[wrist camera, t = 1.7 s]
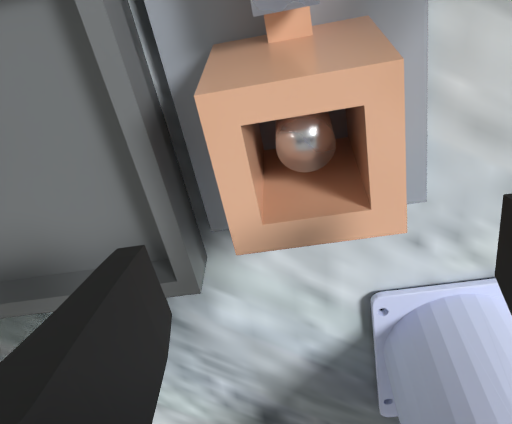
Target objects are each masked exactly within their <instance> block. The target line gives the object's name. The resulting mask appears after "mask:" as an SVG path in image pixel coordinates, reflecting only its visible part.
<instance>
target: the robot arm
mask: <svg viewBox="0 0 512 424" xmlns="http://www.w3.org/2000/svg"><path fill="white" fill-rule="evenodd" d="M495 277H496V278H493V279H485V280H476V281H468V282H460V283H451V284H443V285H434V286H426V287H418V288H409V289H401V290H392V291H384V292H378V293H376V294H374V295H373V296H372V297H371V314H372V326H373V339H374V352H375V365H376V378H377V390H378V403H379V411H380V414H381V415H382V416H384V417H399V421H400V424H512V194H505V195H503V204H502V213H501V222H500V231H499V241H498V250H497V259H496V268H495ZM382 308H385V309H384V310H379V309H382ZM171 319H172V313H171V310H170V308H169V305H168V303H167V300H166V298H165V295H164V293H163V290H162V288H161V285H160V282H159V280H158V277H157V275H156V272H155V270H154V267H153V265H152V262H151V260H150V257H149V255H148V252H147V249H146V247H145V245H139V246H131V247H124V248H117V249H116V250H115V251H114V252H113V253H112V254H111V255H109V256H108V257H107V258H106V259H105V260H104V261H103V262H102V263H101V264H100V265H99V266H98V267H97V268H96V269H95V270H94V271H93V272H92V273H91V275H90V276H89V277H88V278H87V279H86V280H85V281H84V282H83V283H82V284H81V285H80V286H79V287H78V288H77V289H76V290H75V291H74V292H73V293H72V294H71V295H70V296H69V297H68V298H67V299H66V300H65V301H64V302H63V303H62V304H61V305H60V306H59V307H58V308H57V309H56V310H55V311H54V312H53V313H52V314H51V315H50V316H49V317H48V318H47V319H46V320H45V321H44V322H43V323H42V324H41V325H40V326H39V327H38V328H37V329H36V330H35V331H34V332H33V333H31V334H30V335H29V336H28V337H27V338H26V339H25V340H24V341H23V342H22V343H21V344H20V345H19V346H18V347H17V348H16V349H14V350H13V351H12V352H11V353H10V354H9V355H8V356H7V357H6V358H5V359H4V360H3V361H1V362H0V424H152V421H153V417H154V413H155V409H156V405H157V401H158V396H159V392H160V388H161V384H162V380H163V375H164V371H165V367H166V362H167V358H168V349H169V341H170V331H171Z"/></svg>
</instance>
